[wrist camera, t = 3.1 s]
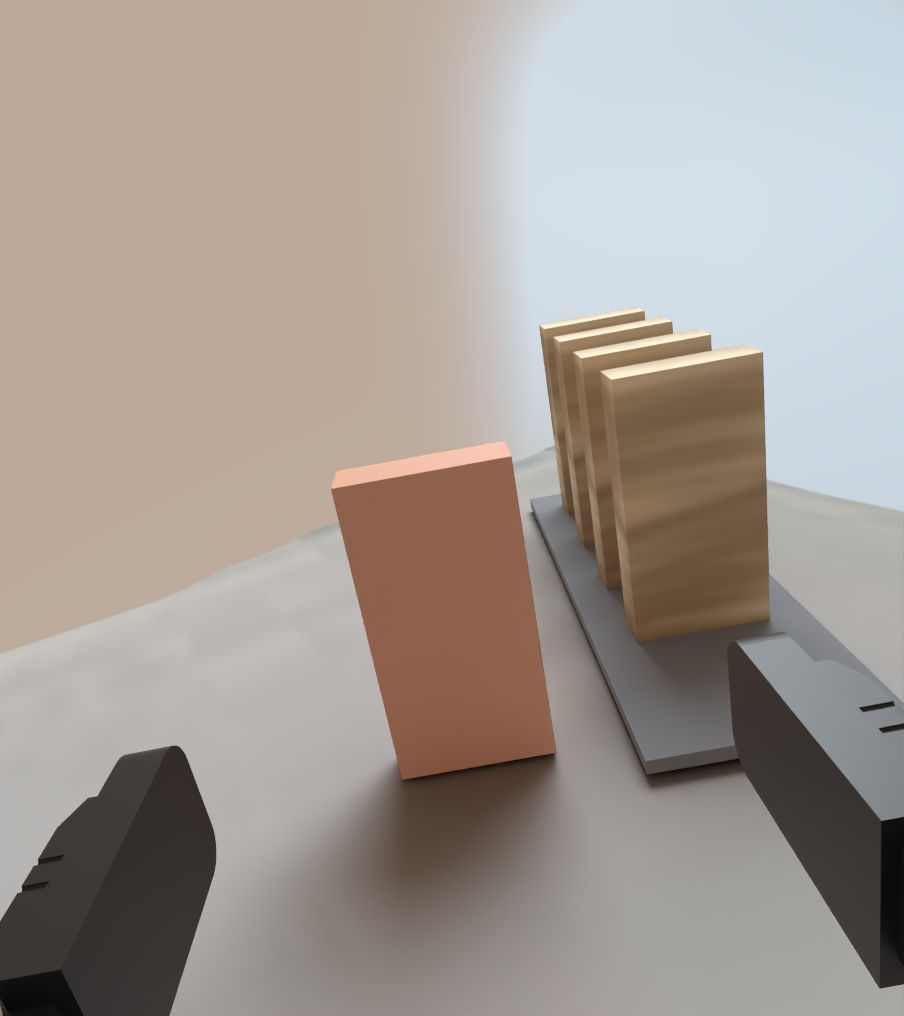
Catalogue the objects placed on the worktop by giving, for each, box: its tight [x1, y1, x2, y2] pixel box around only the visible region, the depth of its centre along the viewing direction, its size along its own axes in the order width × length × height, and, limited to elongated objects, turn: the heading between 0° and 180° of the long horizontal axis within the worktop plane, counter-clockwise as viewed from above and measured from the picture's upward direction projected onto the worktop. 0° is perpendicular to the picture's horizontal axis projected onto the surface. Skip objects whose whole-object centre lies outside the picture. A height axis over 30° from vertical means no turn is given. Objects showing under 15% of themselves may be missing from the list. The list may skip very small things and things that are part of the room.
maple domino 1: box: [539, 308, 645, 515], centre depth 40 cm, size 2×5×10 cm, turn 93°
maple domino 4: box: [600, 345, 770, 643], centre depth 27 cm, size 2×5×10 cm, turn 93°
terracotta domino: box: [331, 441, 556, 780], centre depth 23 cm, size 2×5×10 cm, turn 93°
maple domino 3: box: [573, 330, 712, 590], centre depth 31 cm, size 2×5×10 cm, turn 93°
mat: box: [530, 494, 904, 775], centre depth 33 cm, size 23×8×1 cm, turn 3°
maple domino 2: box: [553, 317, 673, 548], centre depth 35 cm, size 2×5×10 cm, turn 93°
